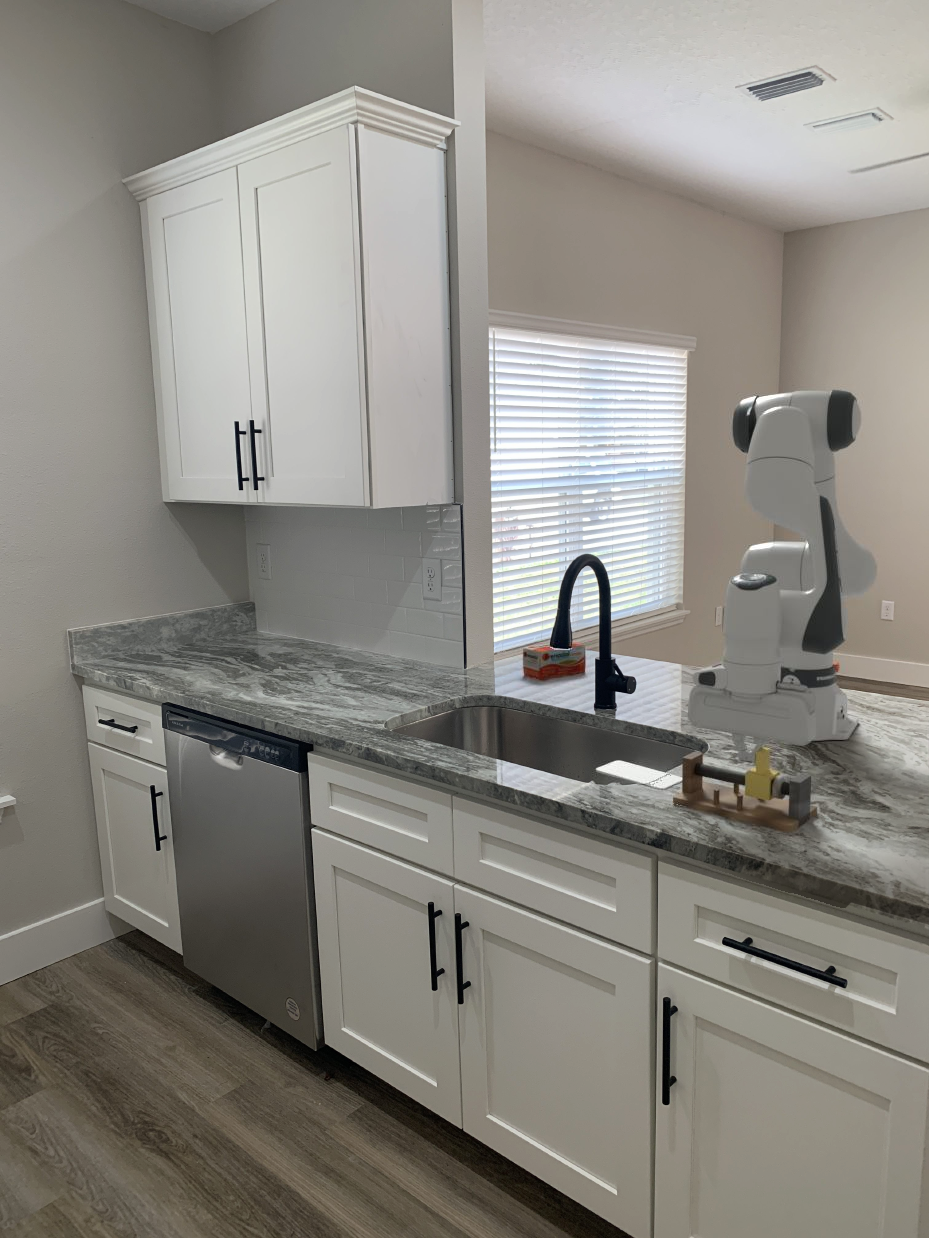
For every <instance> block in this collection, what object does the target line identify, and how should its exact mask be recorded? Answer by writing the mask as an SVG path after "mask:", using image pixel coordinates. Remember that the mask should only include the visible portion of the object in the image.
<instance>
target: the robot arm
mask: <svg viewBox="0 0 929 1238" xmlns="http://www.w3.org/2000/svg"><path fill="white" fill-rule="evenodd" d="M861 423H862V412H861V409H860V405H859V403H858V401H857V398H856V396H855V395H854V394H853V393H852V392H851V391H847V390H841V389H840V390H839V389H832V390H831V391H828V390H795V391H793V392H783V393H775V394H770V395H765V396H759V395H755V396H751V397H747V398H745V399H742V400H741V401H740V402H739V403H738V404H737V405H736V407H734V410H733V414H732V419H731V424H730V429H731V430H730V431H731V436H732V438H733V442H734V446H736V448H737V449H739V451H741V452H742V453H745V454H747V457H746V464H745V471H744V472H745V473H744V497H745V500H746V502H747V504H748V505H749V507H750V508H751V509H752V510H753V511H754V512H755V513H756V515H758V516H760V517H761V518H763V519H765V520H766V521H768V522H770V523H772V524H774V525H777V526H781V527H783V528H786V529H788V530H790V531H793V532H796V533H798V534H799V535H801V536H802V537H803V538H804V539H805V541H775V540H774V541H768V542H763V543H758V544H753V545H751V546H750V547H749V548H748V549H747V550H746V551H745V553H744V555H743V557H742V558H741V561H740V568H739V569H740V574H738V575H735V576H733V577H731V578H730V579H729V582H728V585H727V588H726V593H725V594H726V595H725V599H724V606H723V609H722V633H723V637H724V643H725V644H724V645H725V646H724V650H723V653H722V657H721V658H722V663H717V664H715V665H710V666H707V667H704V668H701V669H698V671H695V672H694V673H693V675H692V682H693V684H694V686H693V687H692V688H691V690H690V693H689V698H688V707H687V719H688V721H689V723H690V724H691V726H693V727H698V728H702V729H708V730H714V731H717V732H724V733H729V734H731V741H732V742H733V744H734V746H735V748H736V750H737V752H738V754H737V755H738V756H737V757H738V759H737V760H738V761H739V762H744V763H749V764H753V765H756V752H757V751H759V750H760V749H762V748H764V747H765V746H766V744H767V743H768V741H773V742H776V743H777V742H778V743H783V744H789V745H793V746H795V745H796V746H799V747H800V746H801V747H804V746H807V745H808V744H810V743H811V742H812V741H813V742H815V741H817V742H818V741H829V740H837V741H839V740H840V741H841V740H842V741H843V740H844V741H845V740H848V739H849V738H850V737H851V735H852V734H853V732H854V730H856V727H857V726H858V724H859V717H857V716H854V715H851V714H849V713H848V697H847V694H846V693H844V691H842V689H841V688H840V687H839V685H838V684H837V683H836V682H837V673H839V671H840V666H841V665H840V663H839V662H834V650H836V649H837V648H838V647H840V646H841V645H842V644H844V643H845V642H846V637H847V635H848V632H849V615H848V609H847V605H846V602H845V598H846V599H847V598H854V597H861V596H864V595H865V594H867V593H868V592H869V591H870V590H871V588H872V587H873V586H874V584H875V582H876V578H877V574H878V566H877V565H878V564H877V561H876V558H875V557H874V555H873V553H872V552H871V550H870V549H869V548H867V546H864V545H863V544H861V542H859V541H857V540H856V538H854V536H852V535H851V533H850V532H849V531H848V530H847V529H846V527H845V526H844V524H843V521H842V519H841V517H840V514H839V509H838V504H837V503H838V502H837V493H836V492H837V490H836V464H835V463H836V461H835V460H836V459H835V454H834V452H835V453H836V452H839V451H840V450H843V449H846V448H847V449H848V447H849V446H851V445H852V444H853V443H855V441H856V437H857V436H858V433H859V431H860V429H861V428H860V427H861ZM746 737H750V738H752V742H753V744H755V746H754V748H753V749H750V748H748V747H747V745H746V742H745V740H744V739H745V738H746Z"/></svg>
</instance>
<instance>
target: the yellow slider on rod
mask: <svg viewBox="0 0 929 1238" xmlns="http://www.w3.org/2000/svg"><path fill="white" fill-rule="evenodd" d="M681 767H682V771H681V773H682V776H681V777H682V782H681V787H682V788H681V790H682V791H681V792H680V793H678V794H676V795H674V796H672V804H673V803H674V804H673V805H675V804H678V805H677V806H679V805H682V806H681V807H683V806H686V807H685V808H687V807H689V808H688V809H691V808H693V809H692V810H695V809H697V810H696V811H699V810H700V811H699V812H704V813H708V814H711V815H715V816H718V817H719V816H720V817H724V818H727V819H732V820H736V821H740V822H745V823H746V824H747V823H748V824H752V825H755V826H759V827H763V828H768V829H771V830H776V831H779V832H784V833H787V834H792V833H794V832H795V831H797V829H799V828H800V827H802V826H803V825H804V824H806V823H807V822H808V821H809V820H811V819H812V818H814V817H815V816H817V815H818V806H814V805H811V802H812V801H811V798H812V797H811V796H812V795H811V793H812V774H806V773H799V774H798V775H796V776H794V777H793V778H791V779H790V780H788V777H787V776H785V775H781V774H780V775H778V776H776V778H775V779H772V780H771V792H772V794H773V797H774V798H773V799H771V800H770V801H767V800H763V799H759V798H754V797H750V796H746V795H745V789H744V790H743V789H740V786H742V787H743V786H744V787H745V772H740V771H736V770H731V769H727V768H722V767H718V766H713V765H709V764H704V754H703V752H702V753H701V752H698V751H693V752H691V753H689V754H687V755H685V756H683V757H682V766H681ZM703 778H708V779H713V780H716V781H717V780H718V781H720V782H725V783H729V784H733V787H732V786H727V785H722V784H717V783H714V782H710V781H704V780H703ZM786 796H788V797H789V798H788V799H785V797H786Z"/></svg>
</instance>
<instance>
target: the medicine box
mask: <svg viewBox="0 0 929 1238" xmlns="http://www.w3.org/2000/svg"><path fill="white" fill-rule="evenodd" d="M571 642H572V641H571ZM586 661H587V659H586V646H585V644H581V643H576V642H572V649H570V650H554V649H552V648H550V643H544V644H537V645H532V646H531V645H530V646H525V647H522V670H523V676H524V677H527V678H531V679H533V680H537V681H540V682H542V681H547V680H548V681H549V680H553V679H554V680H555V679H558V678H559V679H561V678H565V677H571V676H577V675H582V674H585V673H586Z"/></svg>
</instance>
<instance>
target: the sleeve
mask: <svg viewBox="0 0 929 1238" xmlns="http://www.w3.org/2000/svg"><path fill="white" fill-rule="evenodd" d="M770 763H771V748H769V747H765V746H764V747H763V748H762V749H760V750H759V751H757V752H756V764H755V766H754V767H752V768H750V769H749V770H747V771H745V772H744V773H745V786H744V790H745V795H746V796H750V797H754V798H759V799H763V800H767V801H770V800H771V799H773V798H774V797H773V794H772V792H771V780H772V779H775V778H776V776H778V775H780V776H781V771H779V770H775V769H771V768H770V767H771V766H770V765H771V764H770Z"/></svg>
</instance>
